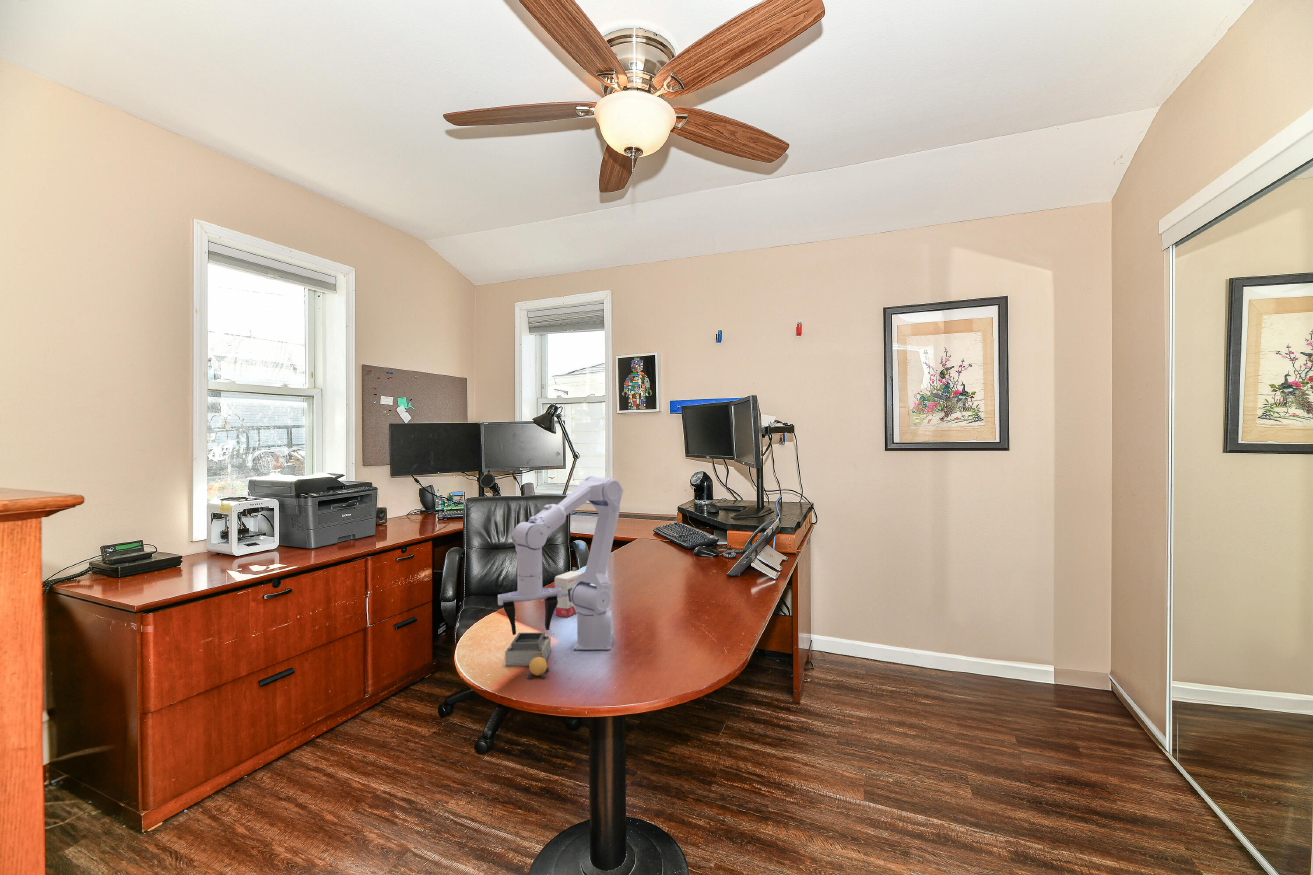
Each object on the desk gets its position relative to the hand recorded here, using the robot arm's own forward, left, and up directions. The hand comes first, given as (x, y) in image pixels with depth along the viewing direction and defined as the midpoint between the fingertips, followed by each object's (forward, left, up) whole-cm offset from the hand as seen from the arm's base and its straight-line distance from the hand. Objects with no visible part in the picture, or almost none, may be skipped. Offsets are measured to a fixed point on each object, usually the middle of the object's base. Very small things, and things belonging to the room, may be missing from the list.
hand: (530, 630), depth 125 cm
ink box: (-2, -39, -10) cm, 40 cm away
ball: (-2, +2, -10) cm, 10 cm away
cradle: (-2, +2, -10) cm, 10 cm away
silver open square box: (+2, -7, -10) cm, 12 cm away
